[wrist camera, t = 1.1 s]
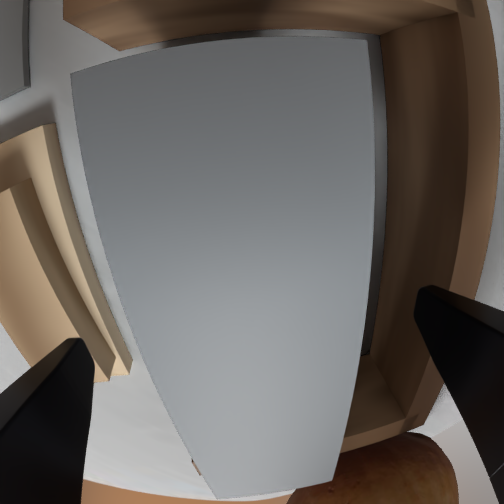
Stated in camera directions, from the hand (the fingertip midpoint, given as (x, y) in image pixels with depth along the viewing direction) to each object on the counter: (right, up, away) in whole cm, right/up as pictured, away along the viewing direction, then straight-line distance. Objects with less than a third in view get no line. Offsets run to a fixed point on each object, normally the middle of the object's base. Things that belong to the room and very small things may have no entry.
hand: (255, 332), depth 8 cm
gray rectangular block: (-1, +3, +5) cm, 6 cm away
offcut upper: (-9, 0, +4) cm, 10 cm away
